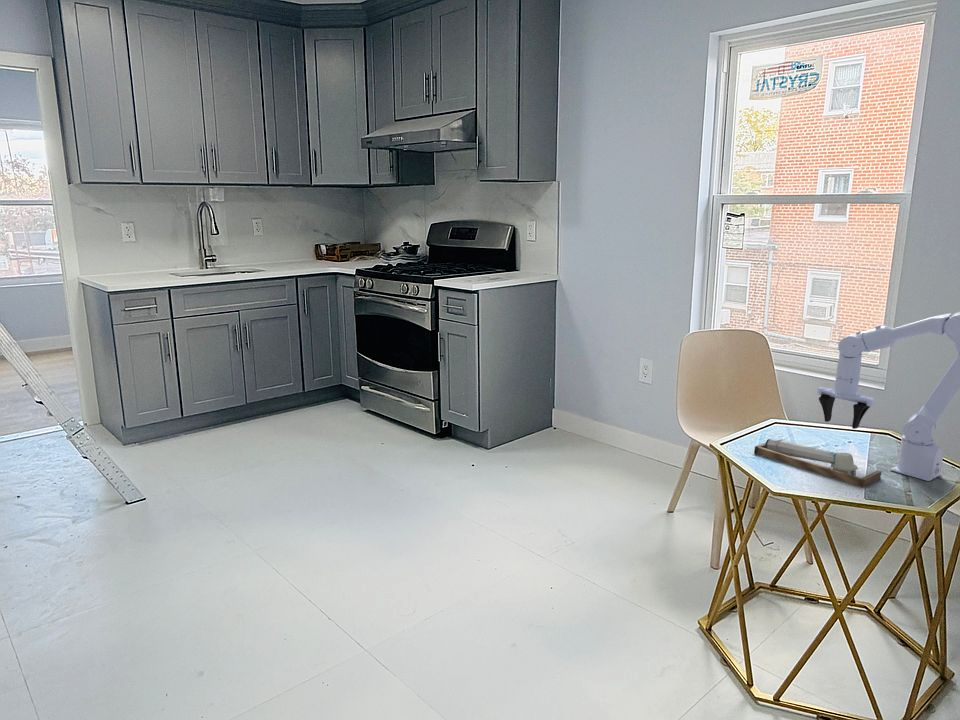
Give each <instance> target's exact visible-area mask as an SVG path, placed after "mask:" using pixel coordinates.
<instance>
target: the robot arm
mask: <svg viewBox="0 0 960 720" xmlns="http://www.w3.org/2000/svg"><path fill="white" fill-rule="evenodd" d="M928 333H931V334H936V335H940V336H943V335H944V333H945V335H946V336H947V337H948V338H949V339H950V341H952V342H953V343H954V345H955V348H956V350H957V352H958V355H957V357H955V359H954V361H953V362H952V363H951V365H950V366H949V368H948V369H947V370H946V372H945V374H944V375H943V376H942V378H941V379H940V381H939V382H938V383H937V386H936V387H935V388H934V389H933V391H932V392H931V394H930V395H929V397H928V398H927V400H926V401H925V402H924V404H923V405H922V407H921V408H920V410H919V411H917V412H916V413H914V414H912V415H910V416H909V418H908V421H907V422H906V423H905V424H904V425H903V426H904V427H903V428H902V429H903V430H902V432H903V434H902V436H901V440H900V447H899V454H898V460H897V465H895V466H893V467H891V468H890V471H892V472H895V473H898V474H903V475H905V476H908V477H912V478H916V479H920V480H924V481H926V482H930V481H932V480H934V479H936V478H937V477H940V476H941V475H942V473H941V471H942V464H943V459H944V455H945V454H944V452H945V451H944V448H943V447H942V446H940V445H937V444H936V443H935V440H934V439H933V437H932V435H933V432H934V431H935V429H936V425H937V422H938V419H939V418H940V417H941V415H942V414H943V413H944V411H945V410H946V408H947V407H948V405H949V404H950V403H951V401H952V400H953V399H954V397H955V395H956V394H957V393H958V391H959V390H960V311H956V312H954V313H953V314H952V313H951V312H950V313H944V314H940V315H934V316H930V317H928V318H924V319H921V320H917V321H914V322H911V323H906V324H903V325H900V326H897V327H892V326H891V327H890V326H888V325H883V326H882V324H877V325H875V326H874V328H871V329H868V330H865V331H864V330H863V331H861V330H858V331H856V332H855V334H854V333H852V334H851V333H850V334H848V335H846V336H845V337H843V338H841V340H840V341H839V343H838V346H837V349H838V352H839V355H838V360H837V366H836V375H835V380H834V381H835V383H834V387H833V388H829V387H823V386H820V387H818V388H817V394H816V395H818V401H819V403H820V405H821V408H822V411H823V417H824V422H826V423H828V422H830V421H831V420H832V416H833V415H832V414H833V413H832V412H833V408H834V403H835V400H836V399H839V400H844V401H848V402H851V403H852V402H853V403H854V404H853V405H852V408H853V417H852V423H851V424H852V425H851V426H852V427H851V428H852V429H854V430H856V429H858V428H859V426H860V423H861V421H862V420H863V417H864V416H865V414H866V412H868V410H869V409H870V407H872V406H874V403H875V398H874V397H870V396H867V395H864V394H861V393H859V392H858V391H859V390H858V388H859V382H860V375H861V368H862V356H863V354H862V353H871V352H875V351H877V350H882V349H885V348H886V349H887V348H889V347H894V345H895V344H896V342H897V340H902V339H906V338H909V337H910V338H911V337H914V336H919V335H923V334H928ZM819 396H820V397H819Z"/></svg>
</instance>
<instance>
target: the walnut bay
mask: <svg viewBox="0 0 960 720" xmlns="http://www.w3.org/2000/svg"><path fill="white" fill-rule="evenodd" d="M765 443H766V442H764V443H760V444H758V445H756V446H754V450H753V451H754V452H753V454H756V455H759V456H761V457H765V458H769V459H772V460H775V461H778V462H780V463H781V462H782V463H785V464H788V465H790V466H793V467H796V468H800V469H803V470H807V471H808V472H809V471H810V472H813V473H815V474H818V475H822V476H825V477H828V478H831V479H833V480H834V479H835V480H838V481H841V482H844V483H847V484H850V485H853V486H857V487H859V488H865V487H866V486H868V485H871V484H872V483H874V482H876V481H879V480H881V477H882V473H883V472H882V471H881V470H875V471H873V472H871V473H868V474H867V475H865V476H862V477H860V476H853V475H850V474H847V473H844V472H840V471H837V470H834V469H833V468H830V467H826V466H823V465H820V464H818V463H815V462H811V461H808V460H806V459H805V460H804V459H802V458H798V457H792V456H788V455H785V454H782V453H779V452H775V451H772V450H769V449H766V448H765V446H766V445H765Z"/></svg>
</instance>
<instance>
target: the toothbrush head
mask: <svg viewBox="0 0 960 720" xmlns="http://www.w3.org/2000/svg"><path fill="white" fill-rule="evenodd" d="M764 443H765V445H766V446H765V448H766V449H769V450H772V451H775V452H779V453H782V454H785V455H788V456H792V457H795V458H798V459H802V460H804V459H805V460H810V461H815V462H816V461H817V462H821V463H826V464H830V466H831V469H834V470H837V471H840V472H844V473H847V474H850V475H853V476H856V475H857V473H856V471H857V470H858V465H857V464H855V463H854V457H853V455H852V454H851V453H848V452H834V451H829V450H825V449H820V448H816V447H812V446H807V445H802V444H799V443H794V442H792V441H791V442H790V441H785V440H783V439H782V438H780V439H774V438H768V439H767V440H766V441H765V442H764Z"/></svg>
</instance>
